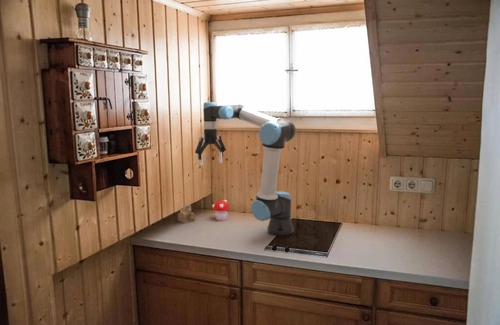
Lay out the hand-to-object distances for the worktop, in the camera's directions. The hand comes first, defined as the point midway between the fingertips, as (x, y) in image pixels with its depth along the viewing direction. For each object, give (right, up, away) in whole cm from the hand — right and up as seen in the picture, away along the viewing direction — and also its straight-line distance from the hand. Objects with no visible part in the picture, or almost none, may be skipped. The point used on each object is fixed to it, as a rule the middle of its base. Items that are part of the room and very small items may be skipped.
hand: (211, 163), depth 257 cm
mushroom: (+5, -35, +15) cm, 38 cm away
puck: (-17, -26, +9) cm, 32 cm away
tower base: (-16, -36, +11) cm, 41 cm away
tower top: (-17, -31, +10) cm, 36 cm away
